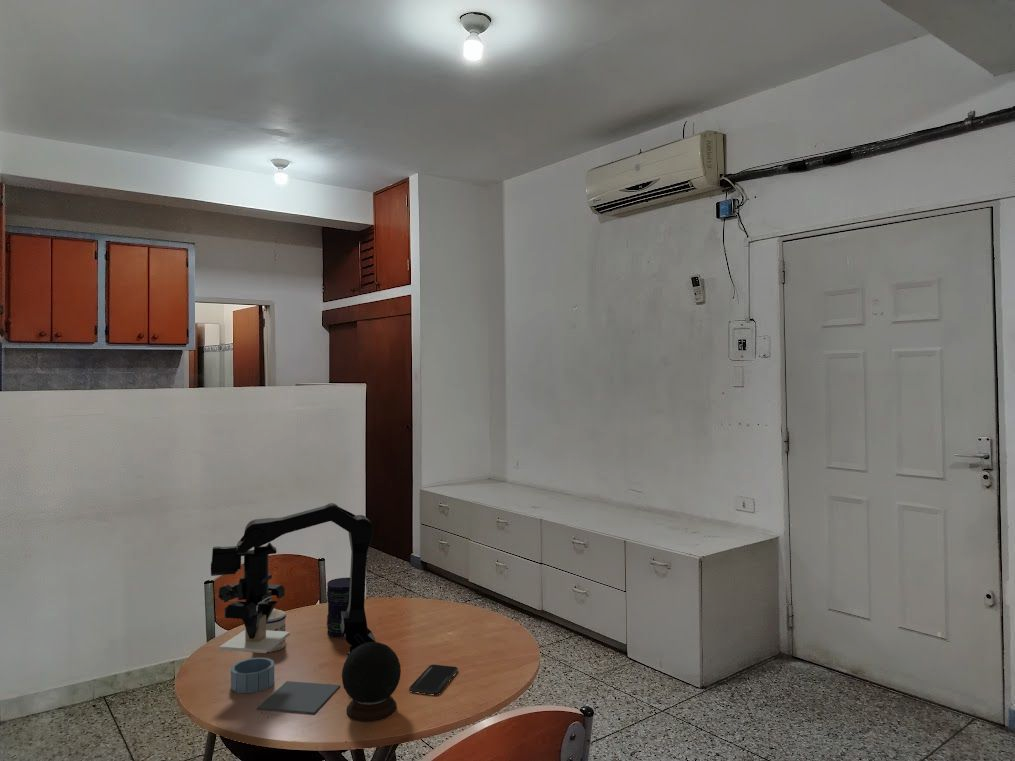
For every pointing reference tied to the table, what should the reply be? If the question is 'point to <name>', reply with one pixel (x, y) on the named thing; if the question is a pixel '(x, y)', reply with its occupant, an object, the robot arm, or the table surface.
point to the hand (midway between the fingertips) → (255, 635)
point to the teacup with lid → (276, 625)
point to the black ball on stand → (371, 681)
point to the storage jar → (337, 605)
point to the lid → (256, 639)
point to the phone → (433, 679)
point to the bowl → (252, 675)
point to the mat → (299, 697)
